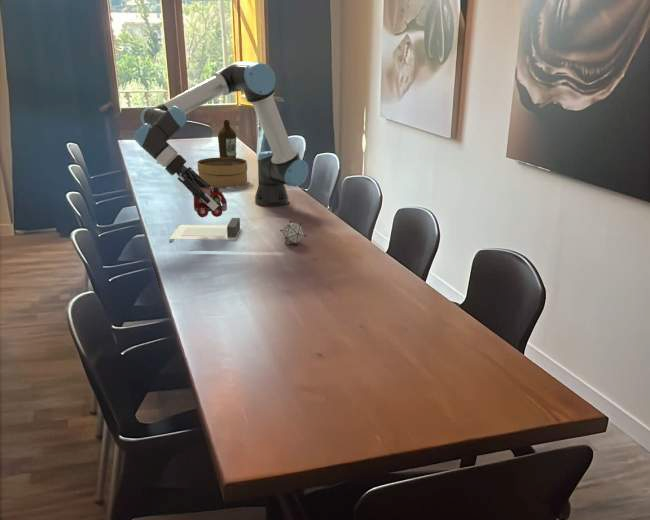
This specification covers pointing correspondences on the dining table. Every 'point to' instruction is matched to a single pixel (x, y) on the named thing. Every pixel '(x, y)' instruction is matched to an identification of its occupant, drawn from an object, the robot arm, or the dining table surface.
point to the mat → (202, 232)
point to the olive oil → (227, 141)
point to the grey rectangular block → (233, 227)
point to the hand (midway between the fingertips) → (218, 205)
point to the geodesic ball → (293, 233)
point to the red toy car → (203, 208)
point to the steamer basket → (223, 171)
